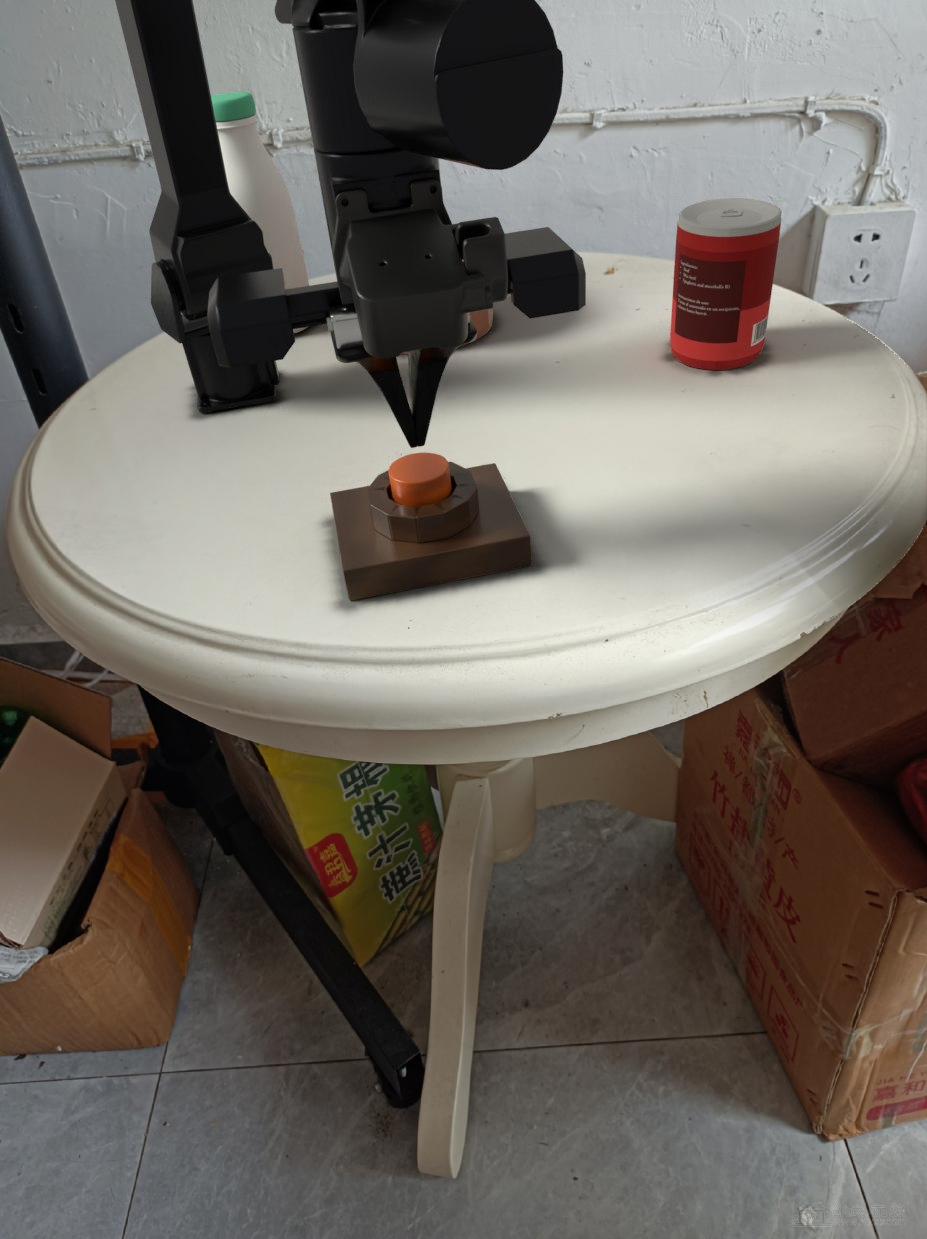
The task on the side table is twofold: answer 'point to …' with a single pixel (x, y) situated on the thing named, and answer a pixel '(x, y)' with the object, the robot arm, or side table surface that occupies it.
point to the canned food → (723, 281)
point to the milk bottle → (259, 184)
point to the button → (420, 479)
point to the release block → (428, 534)
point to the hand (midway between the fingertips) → (416, 444)
